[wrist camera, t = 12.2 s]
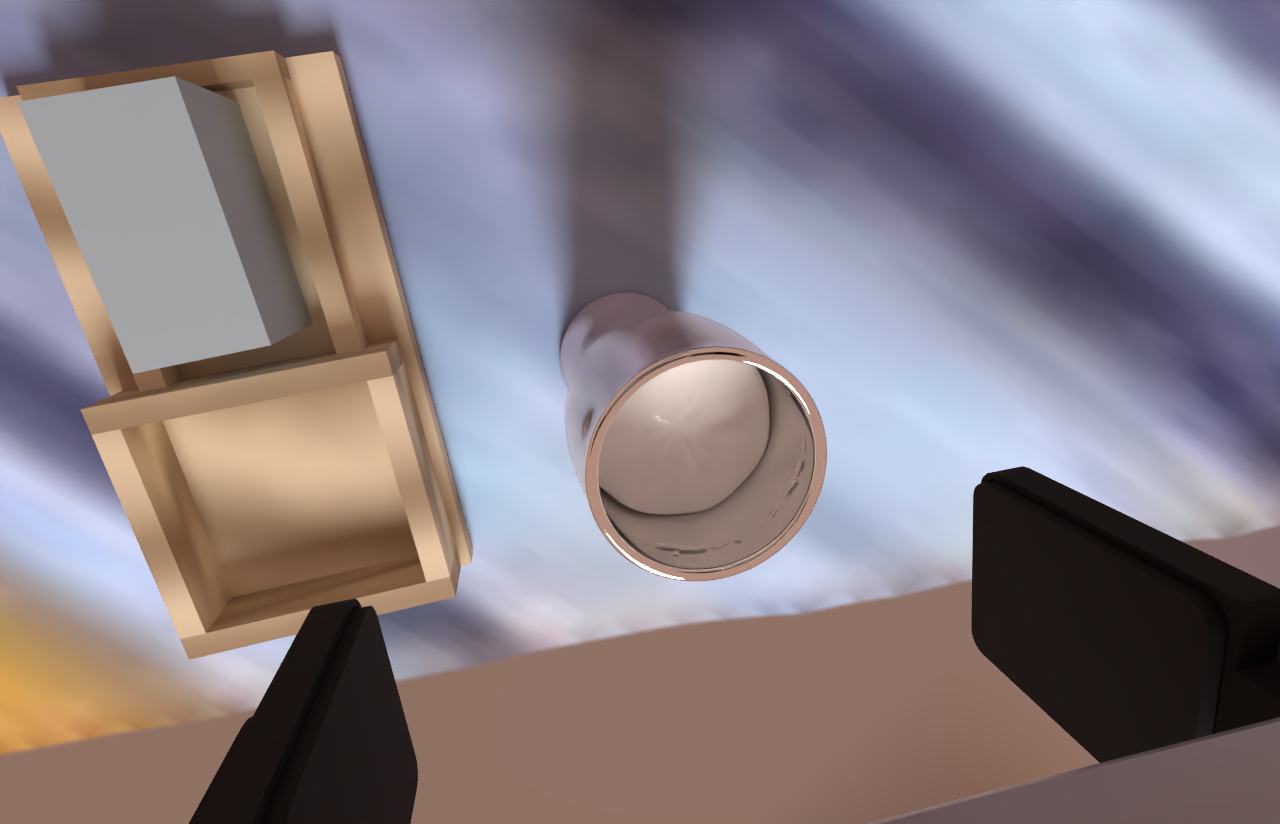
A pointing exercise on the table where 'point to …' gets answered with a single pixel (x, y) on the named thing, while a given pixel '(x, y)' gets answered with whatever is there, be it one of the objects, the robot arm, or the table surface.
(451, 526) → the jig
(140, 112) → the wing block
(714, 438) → the beer glass
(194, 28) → the table surface
